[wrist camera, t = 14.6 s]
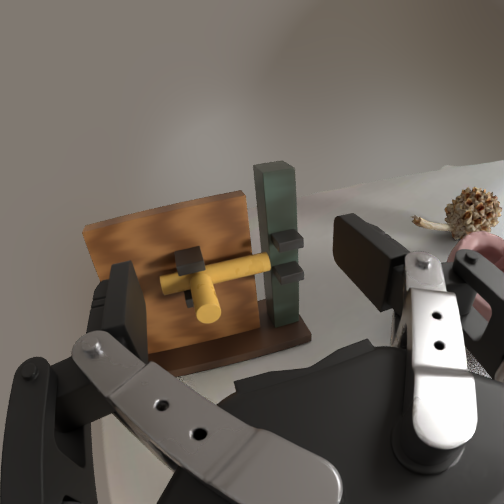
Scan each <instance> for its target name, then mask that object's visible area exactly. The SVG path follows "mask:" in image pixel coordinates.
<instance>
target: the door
mask: <svg viewBox="0 0 504 504" xmlns="http://www.w3.org/2000/svg"><path fill="white" fill-rule="evenodd" d="M253 170H254V180H255V190H256V199H257V211H258V221H259V231H260V242H261V253H262V252H266V253H267V254H268V256H269V260H270V265H271V269H270V271H266V272H263V274H264V285H265V296H266V299H264V300H260V301H257V293H256V284H255V275H249V276H245V277H241V278H237V279H233V280H229V281H224V282H220V283H216V284H213V286H214V289H215V292H216V296H217V299H218V302H219V305H220V308H221V316H220V317H219V319H218V320H216V321H215V322H213V323H202V322H200V321H199V320H198V319H197V317H196V313H195V309H194V304H193V299H192V294H191V289H190V290H186V291H181V292H177V293H173V294H168V295H164V294H163V291H162V288H161V283H160V276H162V275H166V274H171V273H175V272H178V276H183V275H187V274H192V273H196V272H200V271H205V270H206V268H205V266H206V265H210V264H214V263H219V262H223V261H227V260H232V259H236V258H240V257H245V256H249V255H252V248H251V239H250V230H249V221H248V212H247V203H246V196H245V194H244V193H243V192H242V191H241V190H239V191H234V192H229V193H224V194H219V195H214V196H209V197H204V198H199V199H195V200H190V201H185V202H180V203H176V204H172V205H167V206H162V207H158V208H154V209H149V210H145V211H141V212H137V213H133V214H129V215H124V216H120V217H117V218H113V219H109V220H105V221H101V222H97V223H93V224H90V225H86V226H85V228H84V230H83V232H82V234H83V236H84V239H85V242H86V245H87V248H88V251H89V253H90V256H91V259H92V262H93V264H94V267H95V269H96V272H97V274H98V277H99V279H100V282H101V281H102V280H106V279H109V275H110V270H111V265H112V264H116V263H121V262H125V261H129V260H131V261H132V263H133V266H134V269H135V272H136V275H137V278H138V281H139V284H140V287H141V289H142V292H143V295H144V299H145V303H146V312H147V343H148V362H150V361H153V362H155V363H156V364H158V365H159V366H161V367H162V368H163V369H165V370H166V371H167V372H169V373H170V374H171V375H173V376H174V377H178V376H183V375H187V374H192V373H196V372H201V371H205V370H209V369H213V368H218V367H222V366H226V365H230V364H234V363H237V362H241V361H245V360H249V359H252V358H256V357H260V356H263V355H267V354H270V353H274V352H277V351H281V350H284V349H287V348H291V347H294V346H297V345H300V344H304V343H307V342H310V341H311V335H312V334H311V332H310V331H309V329H308V328H307V326H306V324H305V323H304V321H303V319H302V318H301V316H300V315H299V281H300V280H304V271H303V270H302V268H301V267H300V266H299V264H298V249H299V248H303V247H304V240H303V237H302V236H301V235H300V234H299V233H298V231H297V203H296V181H295V168H294V167H292V166H291V165H289V164H287V163H286V162H284V161H276V162H270V163H263V164H257V165H253Z"/></svg>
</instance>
